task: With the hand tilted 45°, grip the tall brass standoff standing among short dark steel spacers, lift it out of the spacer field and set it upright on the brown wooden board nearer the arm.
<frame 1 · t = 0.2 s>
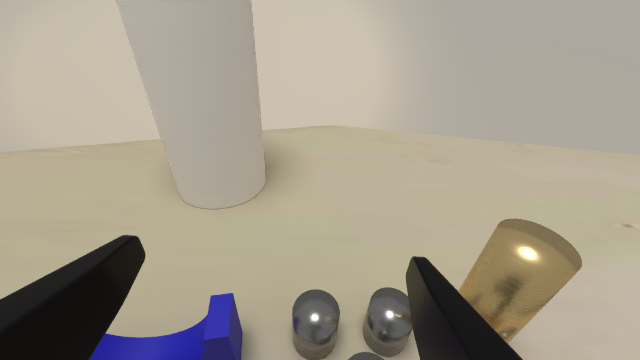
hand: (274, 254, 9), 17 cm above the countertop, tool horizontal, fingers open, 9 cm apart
brass standoff: (456, 349, 22), on the countertop
cylinder: (224, 182, 40), on the countertop
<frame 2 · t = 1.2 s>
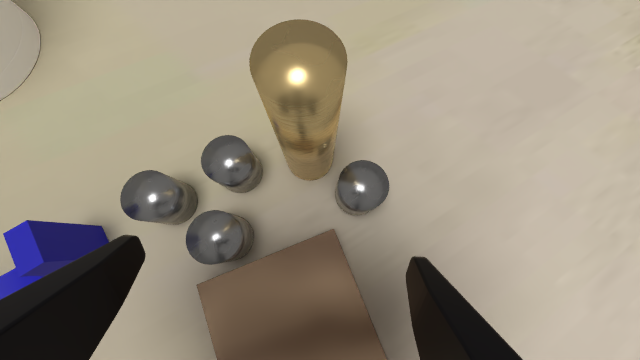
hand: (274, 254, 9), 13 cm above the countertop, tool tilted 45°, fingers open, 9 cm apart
brown wooden board: (301, 344, 20), on the countertop
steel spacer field: (269, 197, 23), on the countertop
brass standoff: (309, 158, 24), on the countertop
cable clip: (46, 291, 21), on the countertop
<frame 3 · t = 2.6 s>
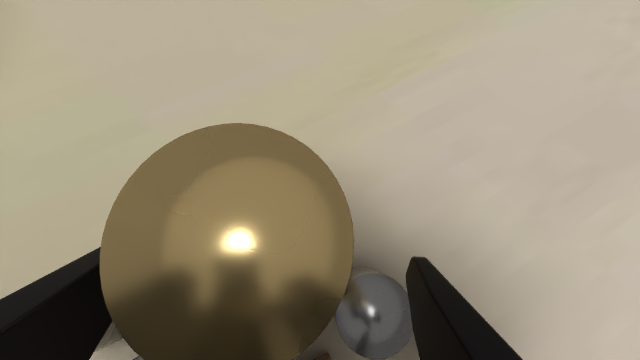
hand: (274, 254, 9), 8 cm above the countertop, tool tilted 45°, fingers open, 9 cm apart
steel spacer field: (238, 303, 16), on the countertop
brass standoff: (296, 242, 17), on the countertop
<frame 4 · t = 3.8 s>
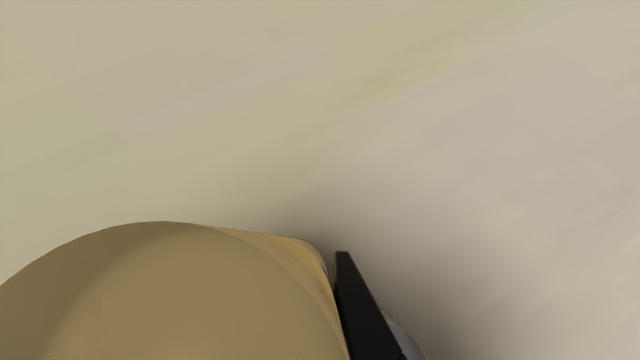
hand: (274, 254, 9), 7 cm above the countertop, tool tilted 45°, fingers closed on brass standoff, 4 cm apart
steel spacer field: (224, 345, 14), on the countertop
brass standoff: (291, 274, 15), on the countertop, touching gripper
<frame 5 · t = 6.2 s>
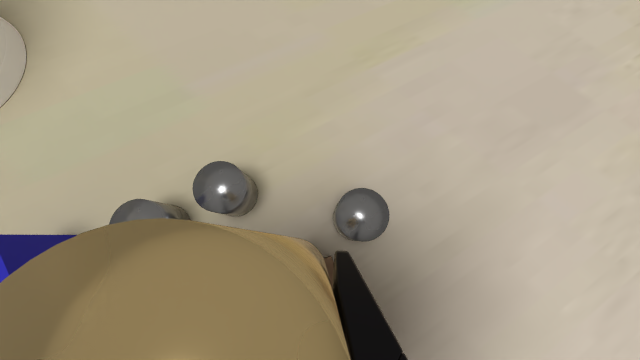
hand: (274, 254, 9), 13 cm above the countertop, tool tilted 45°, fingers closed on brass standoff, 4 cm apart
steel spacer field: (265, 221, 22), on the countertop
brass standoff: (291, 274, 15), point 6 cm above the countertop, touching gripper
cable clip: (23, 303, 21), on the countertop
when the fingers open (9 cm above the countertop, at t = 8.4 s): brass standoff drops 1 cm, resting on brown wooden board.
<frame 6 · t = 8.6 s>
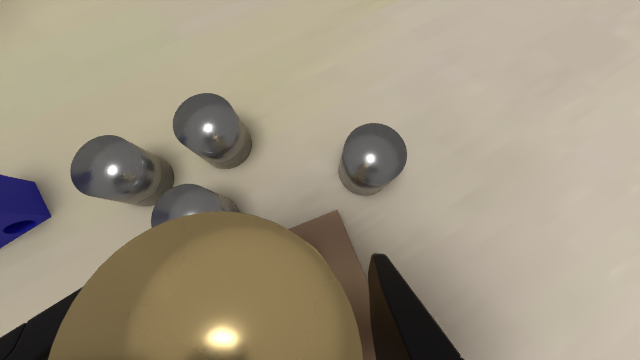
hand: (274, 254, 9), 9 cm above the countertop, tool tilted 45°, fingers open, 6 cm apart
brown wooden board: (297, 350, 16), on the countertop
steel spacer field: (259, 174, 19), on the countertop
brass standoff: (293, 273, 16), point 2 cm above the countertop, touching brown wooden board
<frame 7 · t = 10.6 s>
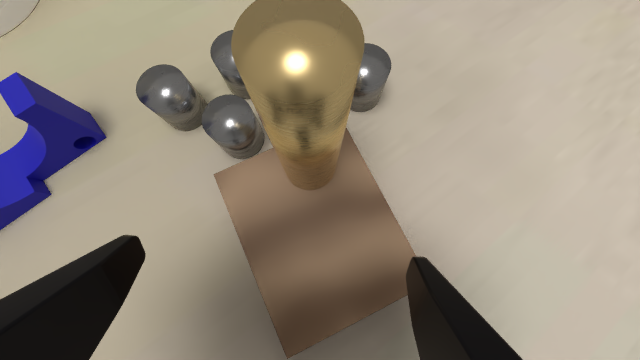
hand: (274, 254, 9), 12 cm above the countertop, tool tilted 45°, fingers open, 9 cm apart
brown wooden board: (317, 227, 21), on the countertop
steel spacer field: (276, 101, 24), on the countertop
brass standoff: (310, 165, 21), point 2 cm above the countertop, touching brown wooden board
cable clip: (43, 175, 23), on the countertop
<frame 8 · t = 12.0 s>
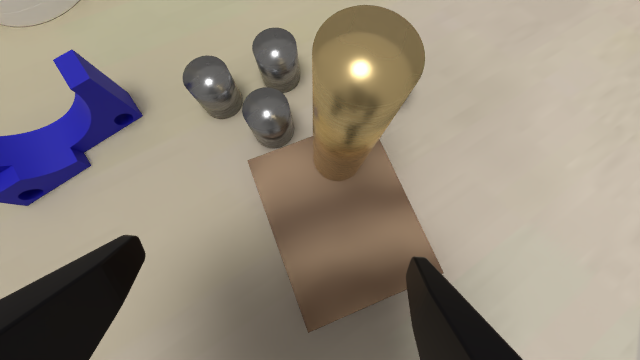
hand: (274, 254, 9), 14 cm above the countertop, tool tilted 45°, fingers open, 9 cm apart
brown wooden board: (339, 215, 23), on the countertop
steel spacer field: (307, 96, 25), on the countertop
brass standoff: (337, 157, 22), point 2 cm above the countertop, touching brown wooden board
cable clip: (83, 147, 24), on the countertop
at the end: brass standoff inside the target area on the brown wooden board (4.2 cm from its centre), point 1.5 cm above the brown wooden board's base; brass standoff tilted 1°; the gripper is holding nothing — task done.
